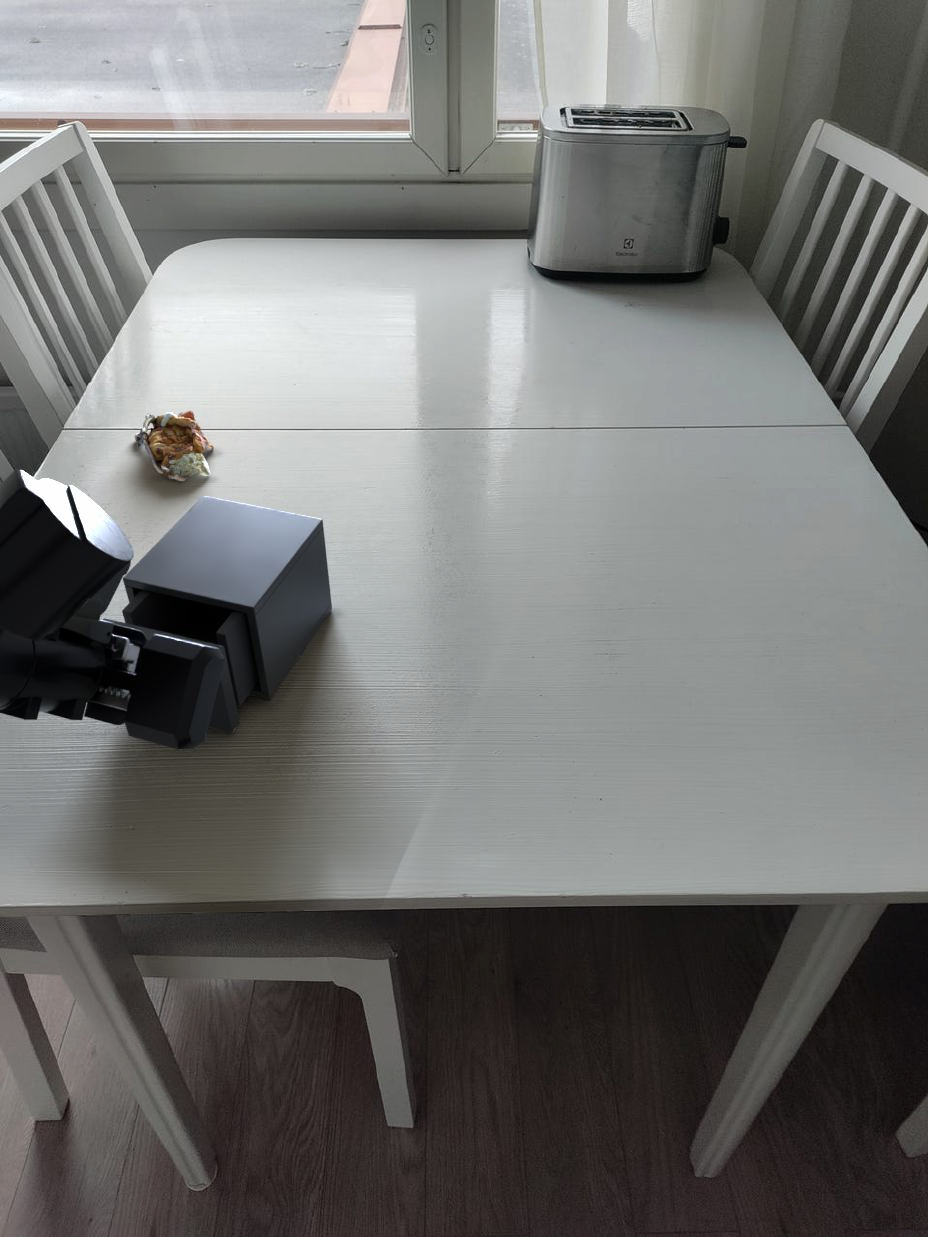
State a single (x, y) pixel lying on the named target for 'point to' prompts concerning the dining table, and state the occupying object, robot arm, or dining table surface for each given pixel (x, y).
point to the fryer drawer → (204, 628)
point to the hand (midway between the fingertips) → (145, 672)
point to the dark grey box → (246, 576)
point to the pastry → (175, 445)
